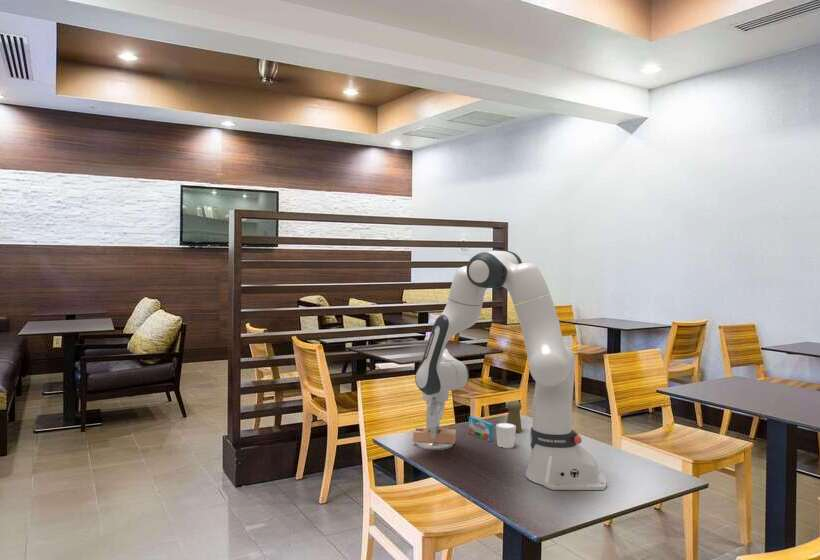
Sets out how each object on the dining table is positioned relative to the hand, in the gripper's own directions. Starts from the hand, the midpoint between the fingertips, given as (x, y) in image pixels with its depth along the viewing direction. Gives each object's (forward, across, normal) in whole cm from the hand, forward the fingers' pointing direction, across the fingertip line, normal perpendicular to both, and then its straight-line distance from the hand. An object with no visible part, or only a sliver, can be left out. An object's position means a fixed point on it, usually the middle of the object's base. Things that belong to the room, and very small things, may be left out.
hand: (435, 434), depth 192 cm
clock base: (+3, 0, 0) cm, 3 cm away
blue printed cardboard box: (+4, +12, -15) cm, 20 cm away
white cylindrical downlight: (+4, +4, -24) cm, 25 cm away
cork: (+4, +22, -27) cm, 35 cm away
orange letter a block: (+2, 0, 0) cm, 2 cm away
